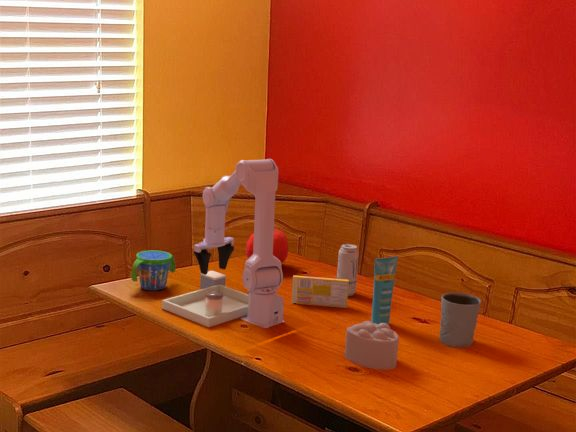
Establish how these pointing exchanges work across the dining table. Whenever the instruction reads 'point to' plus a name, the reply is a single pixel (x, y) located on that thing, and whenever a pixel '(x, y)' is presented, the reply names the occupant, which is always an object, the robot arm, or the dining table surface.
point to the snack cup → (153, 269)
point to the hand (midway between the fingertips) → (213, 271)
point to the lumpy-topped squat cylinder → (372, 345)
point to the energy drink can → (348, 266)
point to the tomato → (278, 245)
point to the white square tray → (195, 305)
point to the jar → (213, 303)
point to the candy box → (320, 291)
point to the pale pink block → (212, 279)
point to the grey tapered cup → (458, 319)
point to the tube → (383, 289)
